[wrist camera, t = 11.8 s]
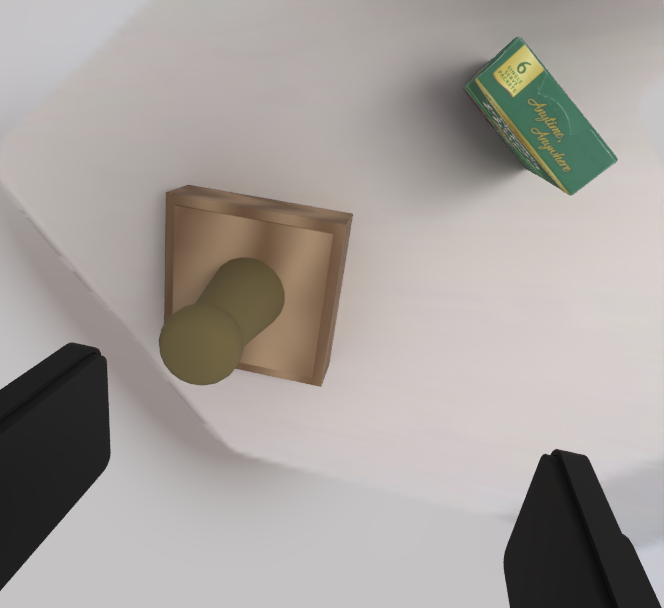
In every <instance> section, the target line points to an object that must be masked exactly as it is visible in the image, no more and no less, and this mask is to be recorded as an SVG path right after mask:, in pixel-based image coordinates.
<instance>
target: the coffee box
mask: <svg viewBox="0 0 664 608" xmlns="http://www.w3.org/2000/svg"><path fill="white" fill-rule="evenodd" d="M464 90H465V92H466V93H467V94H468V96H469V97H470V98H471V100H472V101H473V102H474V104H475V105H476V106H477V108H478V109H479V110H480V112H481V113H482V114H483V115H484V117H485V118H486V119H487V121H488V122H489V123H490V124H491V125H492V127H493V128H494V129H495V131H496V132H497V133H498V134H499V135H500V137H501V138H502V139H503V140H504V142H505V143H506V144H507V146H508V147H509V148H510V149H511V151H512V152H513V153H514V154H515V155H516V156H517V158H518V159H519V160H520V162H521V163H522V164H523V165H524V167H525V168H526V169H527V170H529V171H531V172H532V173H534V174H536V175H538V176H540V177H541V178H543V179H545V180H546V181H548V182H550V183H551V184H553V185H554V186H556V187H558V188H559V189H561V190H562V191H563V192H565V193H567V194H568V195H573V194H574V193H576V192H577V191H578V190H580V189H581V188H582V187H584V186H585V185H586V184H588V183H589V182H590V181H592V180H593V179H594V178H595V177H597V176H598V175H599V174H601V173H602V172H603V171H605V170H606V169H608V168H609V167H610V166H611V165H613V164H614V163H616V162H617V160H618V159H617V157H616V156H615V154H614V153H613V152H612V150H611V149H610V148H609V147H608V146H607V144H606V143H605V142H604V141H603V139H602V138H601V137H600V135H599V134H598V133H597V132H596V130H595V129H594V128H593V127H592V126H591V124H590V123H589V122H588V121H587V119H586V118H585V117H584V116H583V114H582V113H581V112H580V111H579V109H578V108H577V107H576V105H575V104H574V103H573V102H572V101H571V99H570V98H569V97H568V96H567V94H566V93H565V92H564V91H563V89H562V88H561V87H560V86H559V84H558V83H557V82H556V81H555V79H554V78H553V77H552V76H551V74H550V73H549V72H548V70H547V69H546V68H545V67H544V65H543V64H542V63H541V62H540V60H539V59H538V58H537V57H536V55H535V54H534V53H533V52H532V50H531V49H530V48H529V47H528V45H527V44H526V43H525V42H524V41H523V40H522V38H520V37H516V38H515V39H513V40H512V42H510V43H509V44H508V45H507V46H506V47H505V48H504V49H502V50H501V51H500V52H499V53H498V54H497V55H496V56H495V57H494V58H493V59H491V60H490V61H489V62H488V63H487V64H486V65H485V66H484V67H483V68H482V69H481V70H480V71H479V72H478V73H477V74H476V75H475V76H474V77H473V78H472V79H471V80H470V81H469V82H468V83H467V84H466V85H465V86H464Z"/></svg>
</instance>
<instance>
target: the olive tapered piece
mask: <svg viewBox="0 0 664 608" xmlns="http://www.w3.org/2000/svg"><path fill="white" fill-rule="evenodd" d="M284 303H285V291H284V288H283V285H282V282H281V280H280V278H279V277H278V276H277V274H276V273H275V271H274V270H273V269H271V268H270V267H269V266H268V265H266V264H265V263H263V262H261V261H258V260H256V259H254V258H244V257H241V258H236V259H232V260H230V261H228V262H227V263H225V264H223V265H222V266H221V267H220V268H219V270H218V271H217V273H216V274H215V275H214V277H213V278H212V280H211V281H210V282H209V284H208V285H207V287H206V288H205V290H204V291H203V292H202V294H201V295H200V297H199V298H198V300H197V301H196V302H195V304H193V305H188V306H185V307H183V308H181V309H180V310H178V311H176V312H175V313H174V314H172V315H171V316H170V317H169V319H168V320H167V321H166V323H165V324H164V326H163V328H162V330H161V334H160V338H159V347H160V355H161V357H162V359H163V362H164V364H165V365H166V367H167V368H168V369H169V371H170V372H171V373H172V374H173V375H175V376H176V377H177V378H179V379H180V380H182V381H185V382H187V383H190V384H196V385H209V384H215V383H217V382H219V381H221V380H223V379H224V378H226V377H228V376H229V375H230V374H231V373H232V372H233V371H234V369H235V368H236V367H237V365H238V364H239V362H240V359H241V356H242V353H243V348H244V346H245V345H246V344H248V343H249V342H250V341H251V340H252V339H254V338H255V337H256V336H257V335H258V334H260V333H261V332H262V331H263V330H264V329H265V328H267V327H268V326H269V325H270V324H271V323H273V322H274V321H275V320H276V318H277V317H278V316H279V315H280V314H281V311H282V309H283V306H284Z"/></svg>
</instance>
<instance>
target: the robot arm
mask: <svg viewBox="0 0 664 608" xmlns="http://www.w3.org/2000/svg"><path fill="white" fill-rule="evenodd" d="M109 459H110V428H109V403H108V378H107V361H106V358H105V357H104V356H101V353H100V351H99V349H97V348H95V347H91V346H86V345H81V344H77V343H68V344H66V345H65V346H63V347H62V348H60V349H59V350H57V351H56V352H55V353H53V354H52V355H50V356H49V357H47V358H46V359H44V360H43V361H41V362H40V363H39V364H37V365H36V366H34V367H33V368H31V369H30V370H28V371H27V372H26V373H24V374H23V375H21V376H20V377H18V378H17V379H15V380H14V381H12V382H11V383H9V384H8V385H7V386H5V387H4V388H2V389H1V390H0V591H1V589H2V588H3V587H4V586H5V585H6V584H7V582H8V581H9V580H10V579H11V578H12V577H13V576H14V574H15V573H16V572H17V571H18V570H19V569H20V567H21V566H22V565H23V564H24V563H25V562H26V561H27V559H28V558H29V557H30V556H31V555H32V553H33V552H34V551H35V550H36V549H37V548H38V547H39V545H40V544H41V543H42V542H43V541H44V540H45V539H46V537H47V536H48V535H49V534H50V533H51V531H52V530H53V529H54V528H55V527H56V526H57V524H58V523H59V522H60V521H61V520H62V519H63V518H64V517H65V515H66V514H67V513H68V512H69V511H70V510H71V508H72V507H73V506H74V505H75V503H77V501H78V500H79V499H80V498H81V497H82V496H83V495H84V493H85V492H86V491H87V490H88V489H89V488H90V486H91V485H92V484H93V483H94V482H95V481H96V479H97V478H98V477H99V476H100V475H101V474H102V472H103V471H104V470H105V469H106V467H107V465H108V462H109ZM504 573H505V580H506V586H507V592H508V598H509V604H510V608H661V606H660V603H659V601H658V599H657V597H656V595H655V592H654V591H653V588H652V586H651V584H650V582H649V579H648V577H647V575H646V573H645V571H644V569H643V566H642V564H641V562H640V560H639V558H638V555H637V553H636V551H635V549H634V547H633V545H632V543H631V542H630V540H629V538H627V537H626V536H625V535H624V534H622V532H621V530H620V528H619V526H618V524H617V521H616V519H615V517H614V515H613V512H612V510H611V508H610V506H609V503H608V501H607V499H606V497H605V494H604V492H603V490H602V488H601V485H600V483H599V481H598V479H597V476H596V474H595V472H594V470H593V467H592V465H591V463H590V461H589V459H588V457H587V456H585V455H581V454H577V453H572V452H568V451H563V450H559V449H555V450H554V451H553V452H552V453H551V455H547V454H543V455H542V457H541V459H540V461H539V463H538V466H537V469H536V471H535V474H534V476H533V479H532V482H531V484H530V487H529V490H528V492H527V495H526V497H525V500H524V503H523V505H522V508H521V510H520V513H519V516H518V518H517V521H516V523H515V526H514V529H513V531H512V534H511V536H510V539H509V542H508V544H507V547H506V550H505V555H504Z"/></svg>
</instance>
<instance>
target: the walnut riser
mask: <svg viewBox="0 0 664 608" xmlns="http://www.w3.org/2000/svg"><path fill="white" fill-rule="evenodd" d="M352 216H353V214H350V213H345V212H339V211H333V210H328V209H322V208H316V207H311V206H305V205H299V204H294V203H288V202H282V201H277V200H271V199H265V198H259V197H254V196H248V195H242V194H237V193H231V192H225V191H220V190H214V189H208V188H203V187H197V186H191V185H187V186H184V187H181V188H178V189H175V190H172V191H170V192H167V193H166V237H165V314H164V324H165V323H166V321H167V320H168V319H169V317H170V316H171V315H172V314H174V313H175V312H176V311H178V310H180V309H181V308H183V307H185V306H188V305H193V304H195V302H196V301H197V300H198V298H199V297H200V295H201V294H202V292H203V291H204V290H205V288H206V287H207V285H208V284H209V282H210V281H211V280H212V278H213V277H214V275H215V274H216V273H217V271H218V270H219V268H220V267H221V266H222V265H223V264H225V263H227V262H228V261H230V260H232V259H236V258H241V257H244V258H254V259H256V260H258V261H261V262H263V263H265V264H266V265H268V266H269V267H270V268H271V269H273V270H274V271H275V273H276V274H277V276H278V277H279V278H280V280H281V282H282V285H283V288H284V291H285V303H284V306H283V309H282V311H281V314H280V315H279V316H278V317H277V318H276V320H275V321H274V322H273V323H271V324H270V325H269V326H268V327H267V328H265V329H264V330H263V331H262V332H261V333H260V334H258V335H257V336H256V337H255V338H254V339H252V340H251V341H250V342H249V343H248V344H246V345H245V346H244V348H243V353H242V356H241V359H240V362H239V364H238V365H237V367H236V368H235V369H240V370H245V371H250V372H254V373H259V374H264V375H268V376H273V377H278V378H283V379H287V380H292V381H297V382H301V383H306V384H311V385H316V386H320V387H321V386H322V383H323V380H324V377H325V374H326V372H327V369H328V366H329V362H330V356H331V349H332V343H333V336H334V330H335V324H336V317H337V311H338V305H339V298H340V292H341V286H342V279H343V273H344V267H345V260H346V254H347V248H348V241H349V235H350V229H351V222H352Z"/></svg>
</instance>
